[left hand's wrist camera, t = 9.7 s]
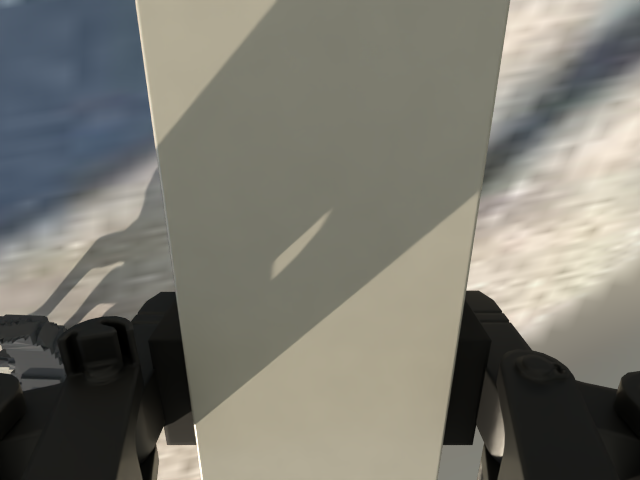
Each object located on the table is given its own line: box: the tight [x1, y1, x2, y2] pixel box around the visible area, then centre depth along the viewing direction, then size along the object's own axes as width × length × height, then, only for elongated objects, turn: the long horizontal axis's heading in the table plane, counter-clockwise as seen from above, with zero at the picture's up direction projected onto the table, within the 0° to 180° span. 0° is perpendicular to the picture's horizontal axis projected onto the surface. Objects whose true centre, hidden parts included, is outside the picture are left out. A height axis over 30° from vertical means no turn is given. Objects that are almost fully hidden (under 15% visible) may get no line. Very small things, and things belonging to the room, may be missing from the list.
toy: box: [0, 315, 67, 391], centre depth 31 cm, size 13×27×18 cm, turn 178°
